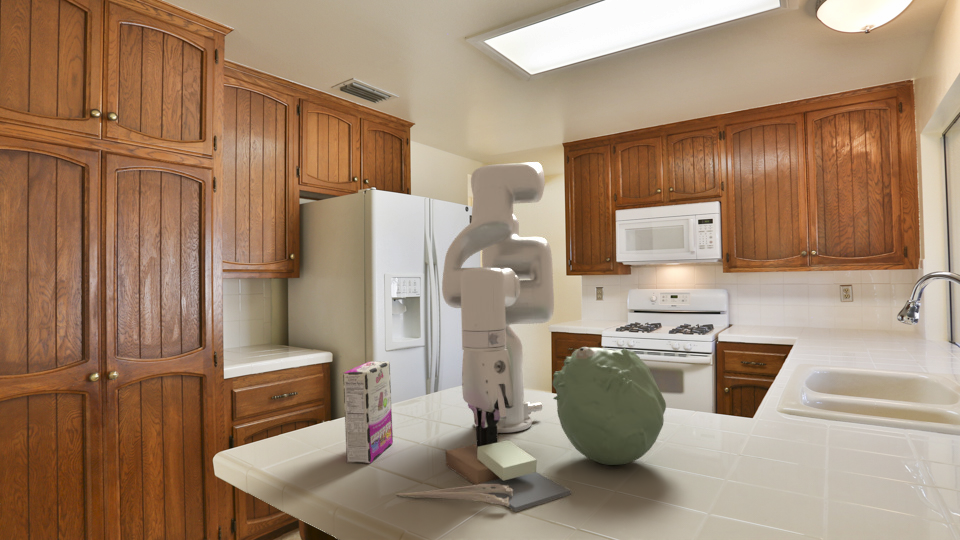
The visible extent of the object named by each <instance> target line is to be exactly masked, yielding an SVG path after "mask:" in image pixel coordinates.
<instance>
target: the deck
mask: <svg viewBox="0 0 960 540" xmlns="http://www.w3.org/2000/svg"><path fill="white" fill-rule="evenodd" d="M477 452H478V449H477V443H475V444H470V445H466V446H462V447H458V448H457V447H456V448H453V449H452V448H451V449H448V450H445V466H446V467H448V468H450V469H451V470H452V469H453V470H452V471H454V472H455V471H456V472H455V473H457V474H459V475H460V476H461V477H463V478H464V479H466V480H467V481H469V482H470V483H471V484H473V485H478V484H480V483H484V482H488V481H491V480H495V479H499V478H500V477H498V476H497V475H496V474H495V473H494V472H492V471H491V470H490V469H489V468H488V467H487V466H485V465H484V464H483V463H482V462H481V461H479V460H478V459H477Z"/></svg>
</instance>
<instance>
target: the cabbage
mask: <svg viewBox="0 0 960 540" xmlns="http://www.w3.org/2000/svg"><path fill="white" fill-rule="evenodd" d="M563 365H564V366H562V367H561V370H558V371H556V370H555V371H554V374H553V380H552V387H553V388H554V389H555V391H556V396H554V397H553V400H555V401H556V405H557V406H556V407H557V408H556V409H557V410H556V412H557V416H558V420H559V423H560V427H561V429H562V430H563V432H564V434H565V435H566V437H567V439H568V441H569V442H570V443H571V445H572V447H574V449H576V451H578V452H579V453H580V454H582V455H583V456H584V457H586V458H587V459H589V460H591V461H593V462H596V463H599V464H600V465H606V466H617V465H618V466H619V465H621V466H622V465H626V464H629V463H632V462H635V461H637V460H639V459H640V458H642V457H643V456H645V454H646V453H648V452H649V451H650V450H651V448H652V447H653V446H654V444H655V443H656V441H657V439H658V437H659V435H660V434H661V433H660V432H661V430H662V429H663V427H664V421H665V420H664V419H665V418H664V417H665V416H664V414H665V413H666V409H667V404H666V403H667V402H666V400H665V398H664V396H663V394H662V392H661V389H659V387H658V385H657V382H656V380H655V378H654V376H653V374H652V372H651V370H650V368H649V366H648V365H647V364H646V363H645V362H644V361H643V360H642V358H640V356H639V355H637V353H636V352H635V351H631V350H628V349H627V348H622V349H616V350H613V349H607V348H602V347H587V346H582V347H580V348H578V349H576V350H574V351H573V352H572V353H571V355H570V356H565V358H564V361H563Z"/></svg>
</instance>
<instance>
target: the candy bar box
mask: <svg viewBox="0 0 960 540" xmlns="http://www.w3.org/2000/svg"><path fill="white" fill-rule="evenodd" d="M390 363H391V362H390V361H374V360H373V361H367V362H366V363H362V364H360V365H358V366H356V367H354V368H353V367H352V368H351V369H348V370H346V371H344V372H342V375H343V376H342V378H343V379H342V380H343V403H344V404H343V405H344V425H345V426H344V427H345V429H344V430H345V450H346V451H345V453H346V463H350V464H372V463H373V462H374V461H375V460H377V458H378V457H379V456H380V455H382V454H383V453H384V452H385V451H386V450H387V449H388V448H389V447H390V446H391V445H392V444H393V443H394V441H393V440H394V439H393V437H394V436H393V415H392V414H393V413H392V389H391V367H390V366H391V365H390Z"/></svg>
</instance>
